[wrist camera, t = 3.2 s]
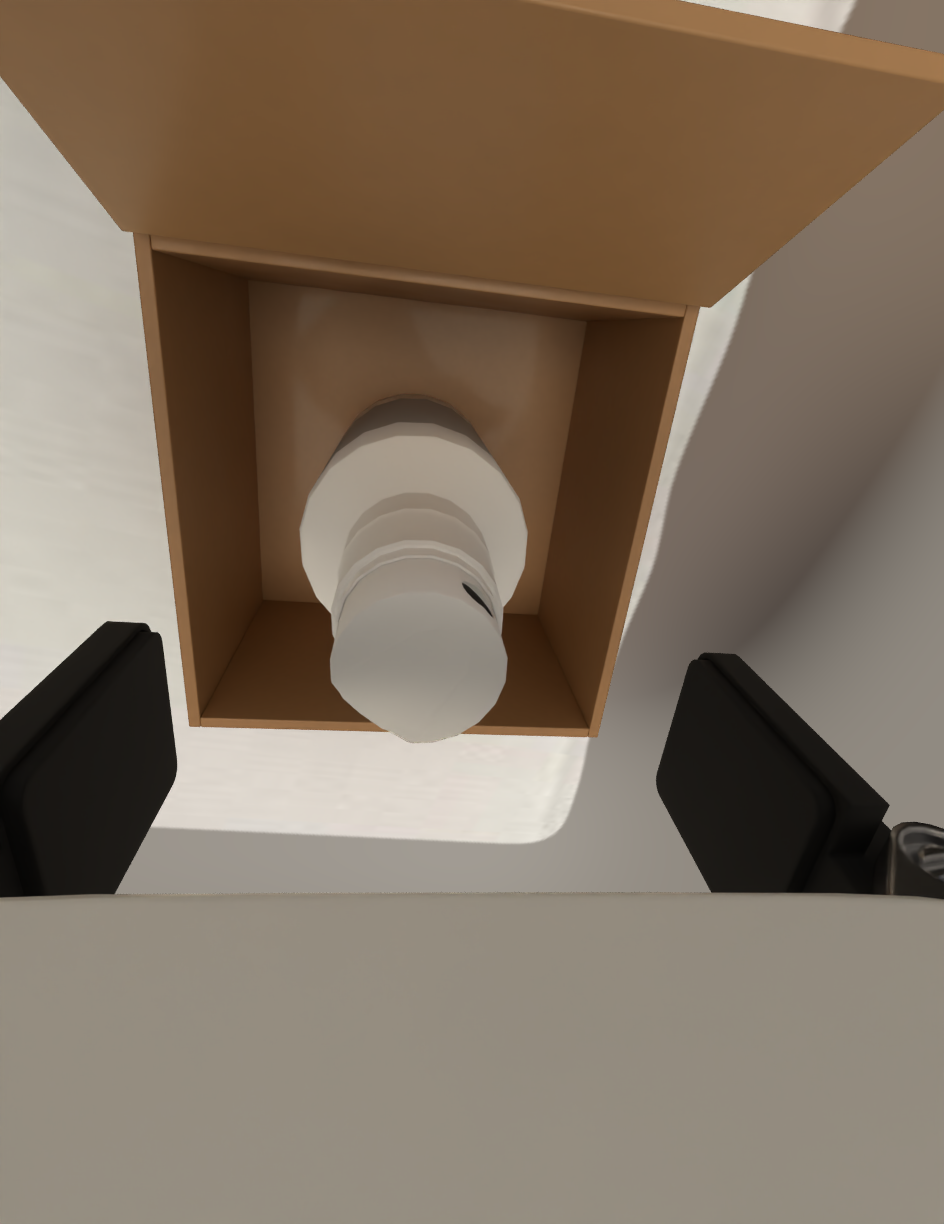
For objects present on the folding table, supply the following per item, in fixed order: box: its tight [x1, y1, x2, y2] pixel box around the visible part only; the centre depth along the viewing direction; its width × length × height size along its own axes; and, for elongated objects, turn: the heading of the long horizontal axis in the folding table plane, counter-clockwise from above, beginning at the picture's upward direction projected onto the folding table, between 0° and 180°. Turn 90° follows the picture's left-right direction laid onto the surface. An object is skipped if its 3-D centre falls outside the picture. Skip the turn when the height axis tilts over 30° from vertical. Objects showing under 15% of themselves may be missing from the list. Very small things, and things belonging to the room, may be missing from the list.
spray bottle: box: [299, 394, 528, 743], centre depth 19 cm, size 7×7×18 cm
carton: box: [133, 232, 700, 737], centre depth 23 cm, size 15×15×10 cm
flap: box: [0, 0, 944, 308], centre depth 11 cm, size 7×15×1 cm
